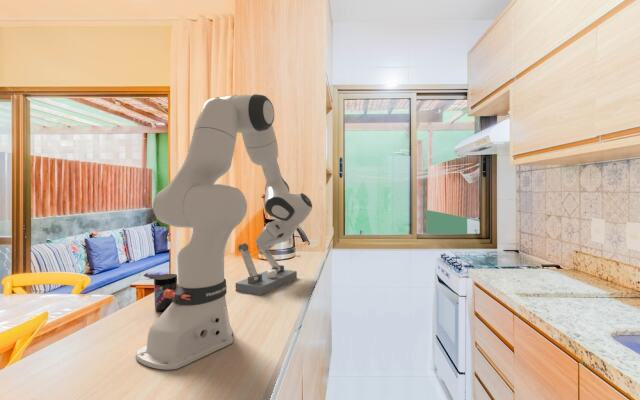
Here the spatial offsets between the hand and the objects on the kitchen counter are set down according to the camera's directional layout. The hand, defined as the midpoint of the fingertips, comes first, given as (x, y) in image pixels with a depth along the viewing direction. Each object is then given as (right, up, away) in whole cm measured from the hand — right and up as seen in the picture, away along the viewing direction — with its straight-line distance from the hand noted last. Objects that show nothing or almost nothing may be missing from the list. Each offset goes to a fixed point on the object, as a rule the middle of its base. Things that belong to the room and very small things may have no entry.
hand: (265, 249), depth 135 cm
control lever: (+6, -8, -3) cm, 10 cm away
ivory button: (+4, -10, -11) cm, 15 cm away
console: (+2, -13, -9) cm, 15 cm away
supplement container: (-26, -14, -34) cm, 45 cm away
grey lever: (-1, -9, -16) cm, 18 cm away
